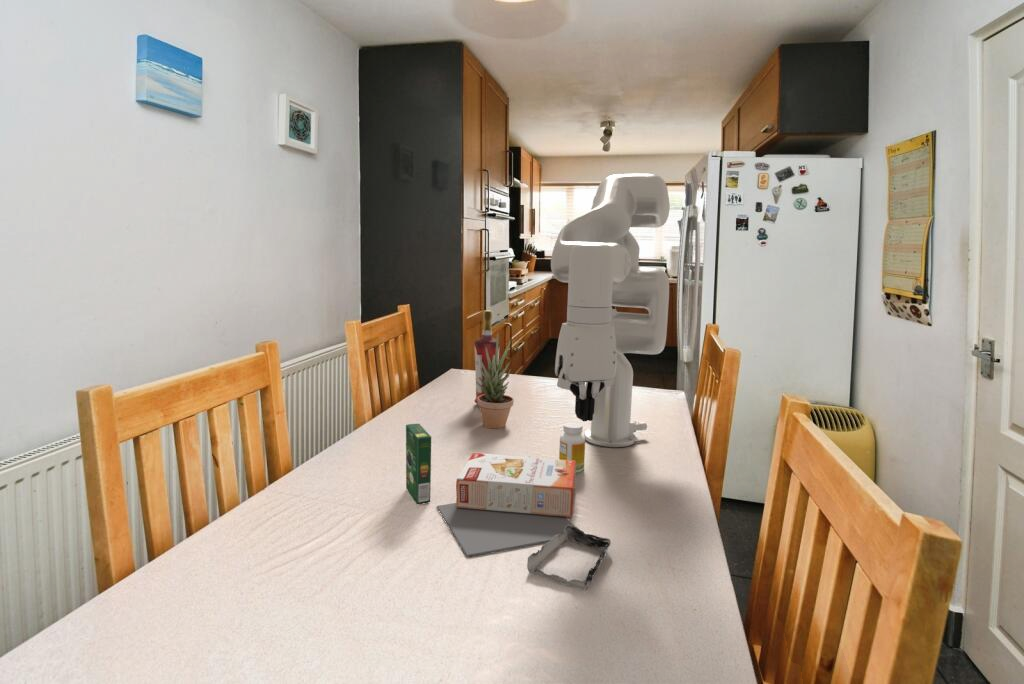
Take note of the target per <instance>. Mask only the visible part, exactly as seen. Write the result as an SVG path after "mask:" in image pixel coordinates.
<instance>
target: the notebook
mask: <svg viewBox="0 0 1024 684" xmlns="http://www.w3.org/2000/svg"><path fill="white" fill-rule="evenodd" d="M436 508H438V509H437V510H438V511H440V512H439V514H440V513H441V514H442V515H441V514H440V515H441V517H442V516H443V517H442V519H443V518H444V519H443V520H444V522H445V521H446V522H445V523H446V526H449V527H448V528H449V530H450V531H452V532H451V533H452V535H453V537H454V538H455V540H456V539H457V540H456V541H457V542H459V543H458V545H459V544H460V545H459V546H460V548H461V547H462V548H461V550H462V551H463V552H465V553H464V554H465V556H466V555H467V556H466V558H471V556H472V557H476V556H477V555H478V556H482V555H488V554H493V553H492V552H494V553H499V552H503V551H504V552H505V551H509V550H515V549H519V547H521V548H525V546H526V547H531V546H536V544H537V545H541V544H545V543H547V542H549V541H550V539H552V537H553V536H554V535H555V534H556V535H557V534H559V537H560V536H561V534H562V531H563V530H565V527H566V526H567V525H571V526H575V524H573V522H571V520H569V519H568V517H564V516H551V515H539V514H528V513H517V512H505V511H493V510H481V509H470V508H459V507H456V502H453V503H447V504H441V505H437V506H436ZM514 548H515V549H514Z"/></svg>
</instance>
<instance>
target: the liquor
mask: <svg viewBox="0 0 1024 684" xmlns="http://www.w3.org/2000/svg"><path fill="white" fill-rule="evenodd" d="M482 319H483V325H482V333H481V337H480V338H477V339H476V340H475V341H474V368H475V369H474V370H475V399H474V403H475V404H476V405H477V406H478V407H479V405H478V404H477V398H478V397H479V396H480V395H484V394H485V393H484V392H483V391H482V390H483V389H482V388H481V387H480V386H479V385H478V384H477V383H476V382H478V383H479V384H480V385H482V386H483V387H484V388H485V386H484V384H483V383H482V382H481V381H480V379H479V377H480V378H481V380H482V381H483V382H485V381H484V379H485V378H484V376H483V374H482V372H481V369H482V370H483V371H484V369H483V367H482V362H483V364H484V366H485V368H486V370H487V371H488V372H489V367H488V361H487V355H486V348H487V350H488V354H489V357H490V360H491V363H492V359H493V356H494V360H495V353H496V341H497V338H494V337H493V330H492V329H493V327H492V319H493V310H488V309H487V310H482ZM500 343H501V342H500V341H499V340H498V362H497V365H498V364H499V362H500V358H499V357H500ZM480 367H481V369H480ZM484 373H485V372H484ZM481 389H482V390H481ZM484 391H485V390H484ZM485 392H486V391H485Z"/></svg>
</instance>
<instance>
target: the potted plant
mask: <svg viewBox="0 0 1024 684" xmlns="http://www.w3.org/2000/svg"><path fill="white" fill-rule="evenodd" d="M496 340H497V341H496V353H495V360H494V356H493V359H492V363H491V360H490V357H489V354H488V350H487V348H486V355H487V361H488V367H489V372H488V371H487V370H486V368H485V366H484V364H483V362H482V367H483V369H484V371H483V370H482V369H481V367H480V369H481V372H482V374H483V376H484V378H485V379H484V381H485V382H483V381H482V380H481V378H480V377H479V379H480V381H481V382H482V383H483V384H484V386H485V388H484V387H483V386H482V385H480V384H479V383H478V382H476V381H475V384H476V383H477V384H478V385H479V386H480V387H481V388H482V389H483V390H482V389H481V390H482V391H483V392H484V393H485V394H484V395H480V396H479V397H478V398H477V404H478V405H479V406H478V405H477V404H476V405H477V406H478V407H479V411H480V414H481V419H482V423H483V427H485V428H487V427H488V429H501V428H502V429H503V428H505V427H506V424H507V423H508V418H509V416H510V412H511V409H512V407H513V406H514V400H515V399H514V397H513V396H510V395H507V394H506V390H507V389H508V385H509V383H510V381H507V383H505V384H504V382H505V381H506V380H507V379H508V378H509V377H510V372H511V370H512V368H511V369H509V370H508V368H509V365H510V361H509V362H508V363H507V364H506V365H505V367H504V368H503V369H502V366H503V364H504V361H505V359H506V357H507V355H508V351H509V349H510V345H511V339H510V340H509V342H508V344H507V346H506V347H505V350H504V352H503V353H502V356H501V358H500V359H499V362H498V341H499V332H497V334H496ZM497 362H498V365H497ZM507 370H508V372H506V371H507ZM484 372H485V373H484ZM504 375H505V376H504ZM503 376H504V377H503ZM484 390H485V391H486V392H485V391H484Z"/></svg>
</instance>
